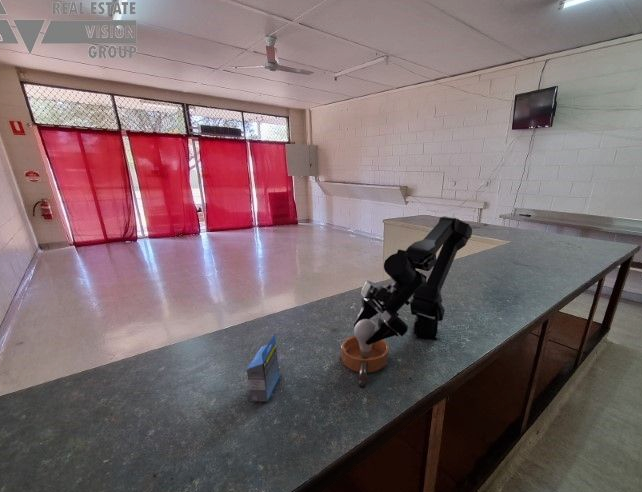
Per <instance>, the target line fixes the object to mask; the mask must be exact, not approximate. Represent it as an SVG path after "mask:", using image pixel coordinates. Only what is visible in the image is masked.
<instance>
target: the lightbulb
mask: <svg viewBox="0 0 642 492" xmlns="http://www.w3.org/2000/svg"><path fill="white" fill-rule="evenodd" d="M377 326H378V324H377V323H376V322H375V321H373V320H372V319H371V318H370V319H363V320H360V321H359V322H358V323H357V324H356V326H354V329H353V333H354V336H356V338H357V340H358V342H359V345H360V350H361V356H362V357H363V358H368V357H370V354H371V349H372V344H373V343H372V344H370V345H367V344H366V343H365V341H366V340H367V338H368V337H369V336H370V334H371V333H372V332H373V331H374V330H375V328H376V327H377Z"/></svg>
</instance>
